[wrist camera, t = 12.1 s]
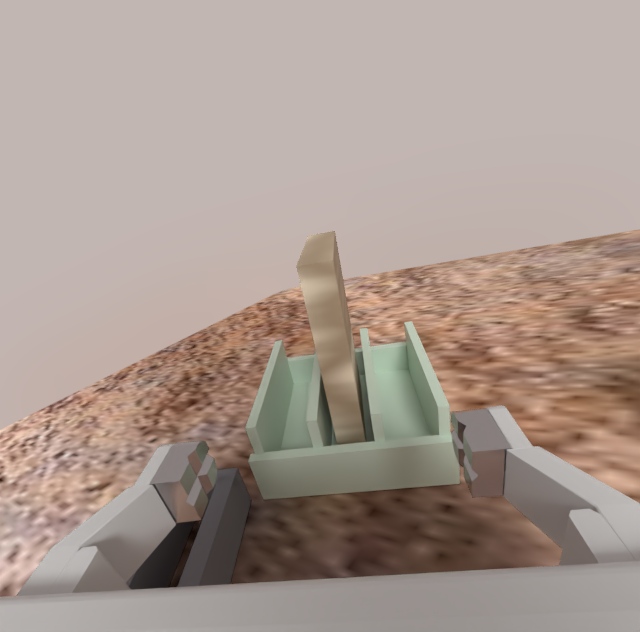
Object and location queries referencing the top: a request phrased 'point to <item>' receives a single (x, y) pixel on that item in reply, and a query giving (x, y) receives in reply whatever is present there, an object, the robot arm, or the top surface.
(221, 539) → the board stand
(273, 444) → the dish rack
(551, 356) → the top surface
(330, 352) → the maple board
